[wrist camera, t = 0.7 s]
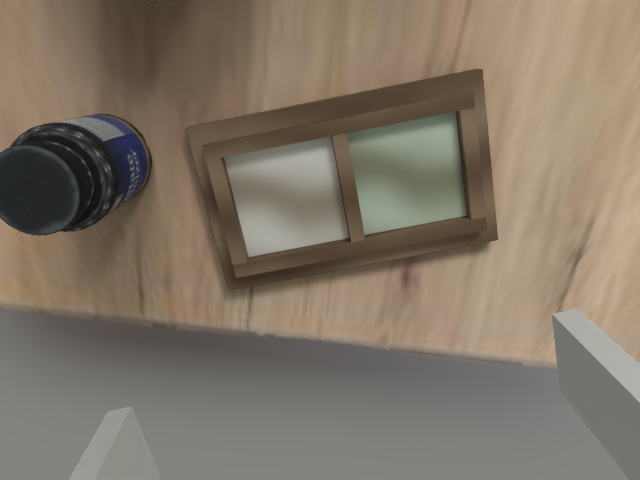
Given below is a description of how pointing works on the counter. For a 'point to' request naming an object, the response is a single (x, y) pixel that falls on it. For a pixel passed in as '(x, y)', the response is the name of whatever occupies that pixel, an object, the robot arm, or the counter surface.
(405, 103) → the divided wooden tray
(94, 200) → the pill bottle
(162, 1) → the coffee mug
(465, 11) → the counter surface
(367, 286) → the counter surface
